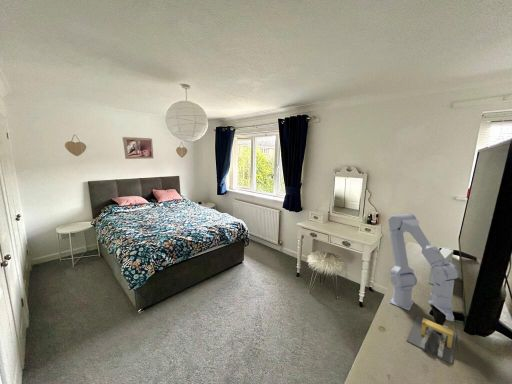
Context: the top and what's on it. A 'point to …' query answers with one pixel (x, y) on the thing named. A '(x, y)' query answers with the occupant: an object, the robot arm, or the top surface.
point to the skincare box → (447, 255)
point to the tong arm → (426, 339)
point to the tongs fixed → (440, 348)
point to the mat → (416, 340)
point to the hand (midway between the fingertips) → (438, 323)
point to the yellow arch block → (438, 328)
